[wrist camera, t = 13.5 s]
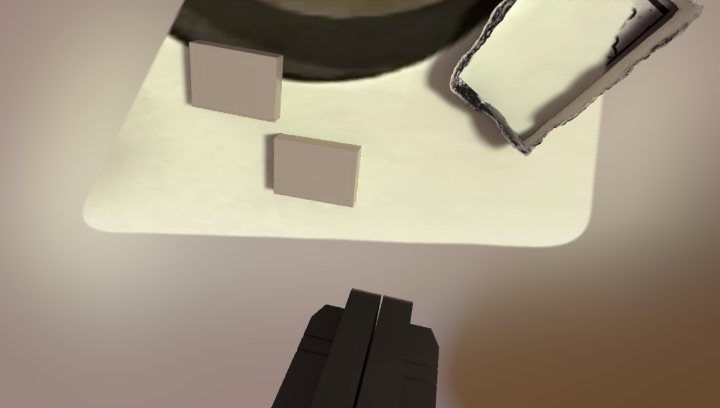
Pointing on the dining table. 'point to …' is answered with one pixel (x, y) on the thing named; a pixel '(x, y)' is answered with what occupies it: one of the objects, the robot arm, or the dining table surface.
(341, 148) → the beige rectangular block
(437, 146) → the dining table surface
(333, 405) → the robot arm
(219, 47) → the beige flat slab
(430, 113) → the dining table surface
